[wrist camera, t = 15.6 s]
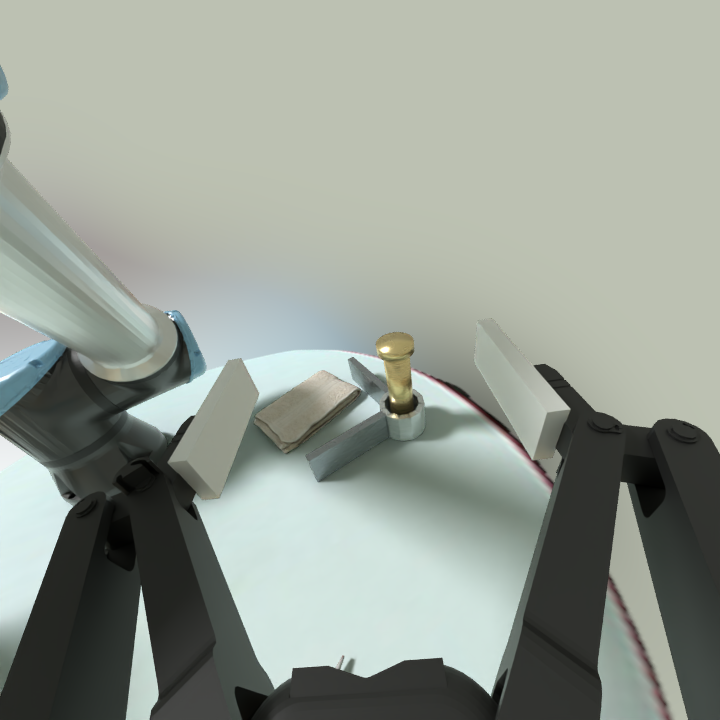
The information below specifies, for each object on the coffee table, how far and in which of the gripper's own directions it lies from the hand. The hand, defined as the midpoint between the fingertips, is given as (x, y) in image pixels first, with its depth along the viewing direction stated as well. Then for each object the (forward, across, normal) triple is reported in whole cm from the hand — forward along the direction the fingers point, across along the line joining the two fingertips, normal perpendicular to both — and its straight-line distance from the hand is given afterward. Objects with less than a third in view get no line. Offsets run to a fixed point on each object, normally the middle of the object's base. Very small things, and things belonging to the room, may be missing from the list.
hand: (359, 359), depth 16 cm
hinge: (+21, -6, -28) cm, 36 cm away
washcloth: (+26, -14, -29) cm, 41 cm away
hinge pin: (+19, +3, -28) cm, 34 cm away
